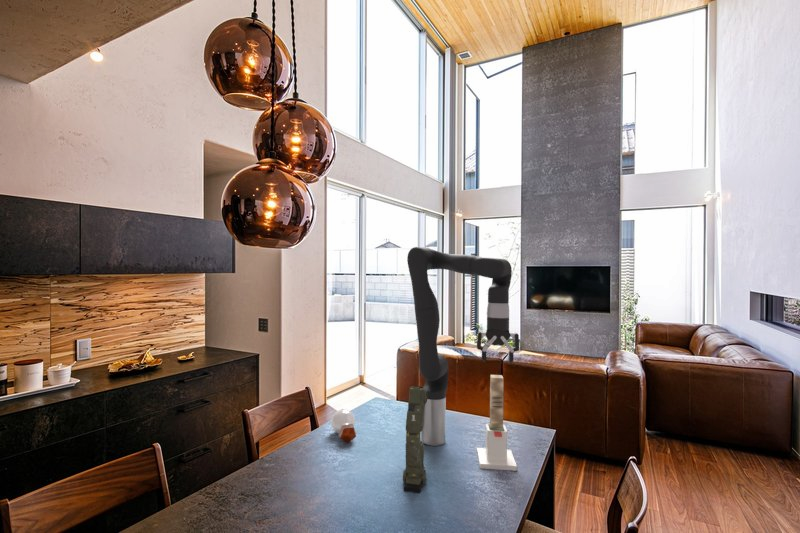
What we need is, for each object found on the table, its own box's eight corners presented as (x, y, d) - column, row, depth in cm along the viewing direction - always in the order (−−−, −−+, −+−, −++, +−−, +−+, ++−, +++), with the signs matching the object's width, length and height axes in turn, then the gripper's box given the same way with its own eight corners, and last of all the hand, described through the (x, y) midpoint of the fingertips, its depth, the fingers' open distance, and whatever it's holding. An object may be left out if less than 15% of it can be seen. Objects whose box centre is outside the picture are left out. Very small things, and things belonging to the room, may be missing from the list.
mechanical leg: (421, 497, 113) (426, 388, 120) (397, 494, 114) (403, 386, 122) (427, 484, 126) (431, 386, 133) (405, 481, 127) (410, 384, 135)
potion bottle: (343, 430, 164) (350, 450, 150) (324, 420, 161) (330, 439, 147) (356, 412, 165) (365, 430, 151) (338, 401, 162) (345, 418, 148)
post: (490, 440, 135) (491, 377, 135) (489, 435, 140) (490, 374, 140) (503, 441, 135) (504, 378, 135) (501, 436, 139) (502, 375, 139)
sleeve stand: (479, 468, 132) (480, 433, 132) (476, 451, 144) (477, 420, 144) (516, 470, 131) (517, 435, 131) (510, 453, 142) (510, 421, 143)
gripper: (478, 316, 134) (477, 364, 134) (521, 317, 133) (520, 365, 133) (476, 314, 142) (475, 359, 142) (517, 315, 140) (516, 360, 140)
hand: (497, 362), depth 137 cm, fingers open, 8 cm apart
